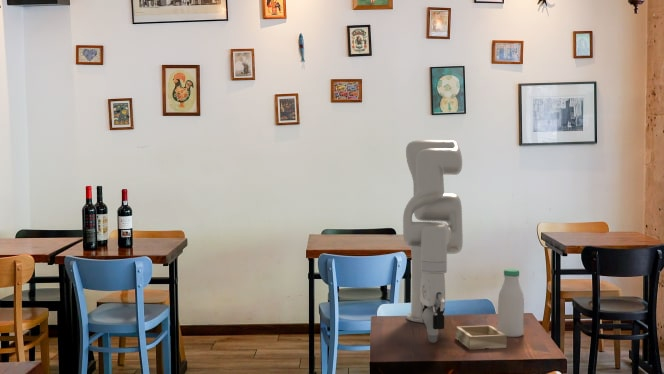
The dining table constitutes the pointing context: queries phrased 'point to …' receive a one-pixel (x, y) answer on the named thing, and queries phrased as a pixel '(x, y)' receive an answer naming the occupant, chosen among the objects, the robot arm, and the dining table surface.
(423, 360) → the dining table surface
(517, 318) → the milk bottle
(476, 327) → the holder
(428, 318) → the lightbulb
